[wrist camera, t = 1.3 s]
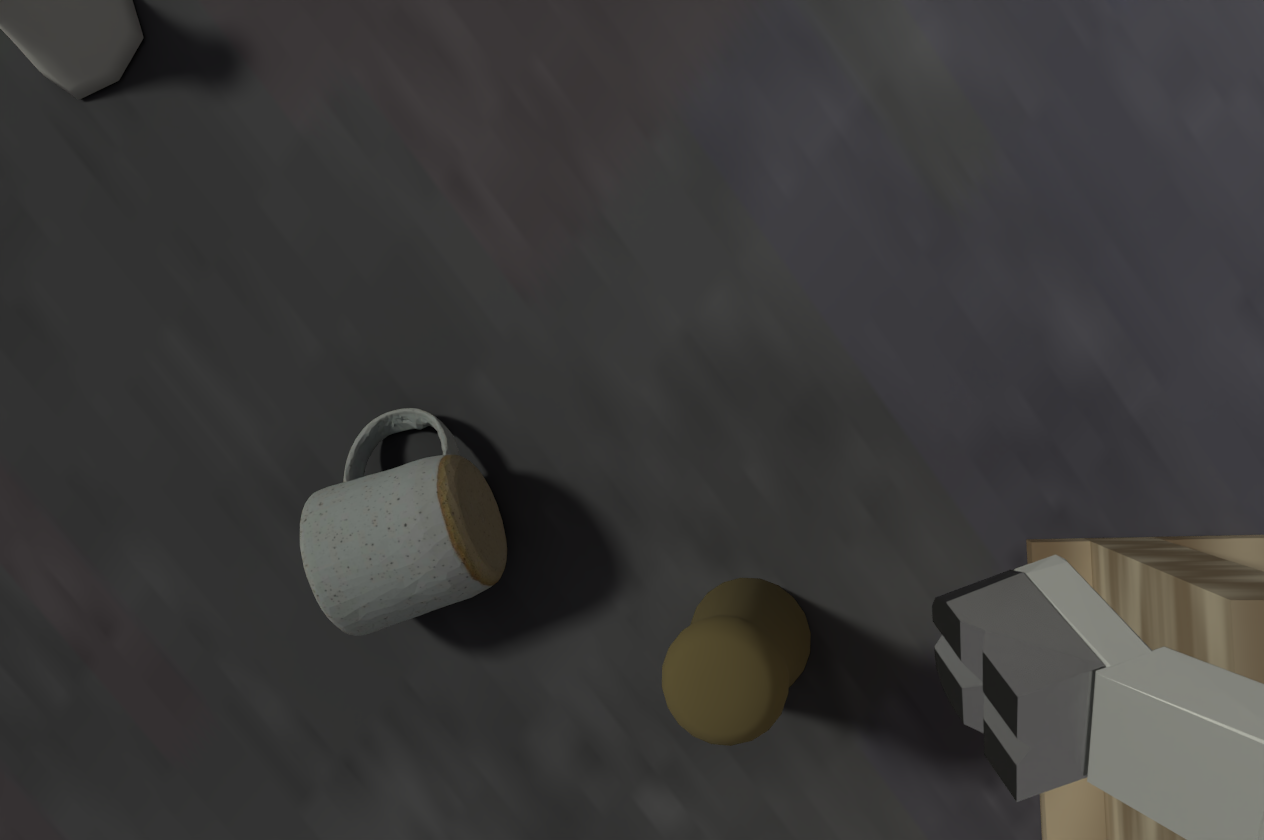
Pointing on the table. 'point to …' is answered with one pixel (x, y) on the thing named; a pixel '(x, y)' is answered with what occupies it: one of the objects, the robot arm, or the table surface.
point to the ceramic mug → (401, 533)
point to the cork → (736, 661)
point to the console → (1161, 638)
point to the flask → (74, 39)
